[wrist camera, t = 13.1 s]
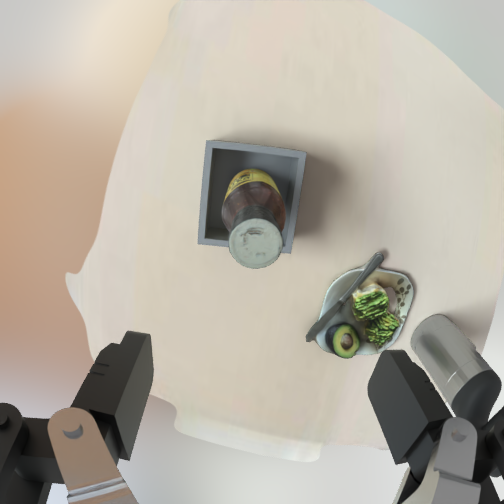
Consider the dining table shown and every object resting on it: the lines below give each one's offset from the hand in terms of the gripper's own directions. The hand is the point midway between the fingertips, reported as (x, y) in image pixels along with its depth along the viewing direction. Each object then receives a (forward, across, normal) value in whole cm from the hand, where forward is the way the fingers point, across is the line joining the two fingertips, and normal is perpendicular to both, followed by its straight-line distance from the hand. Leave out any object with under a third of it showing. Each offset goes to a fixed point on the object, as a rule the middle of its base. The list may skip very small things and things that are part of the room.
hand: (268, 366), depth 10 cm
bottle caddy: (+34, 0, 0) cm, 34 cm away
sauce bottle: (+33, 0, 0) cm, 33 cm away
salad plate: (+35, -21, +18) cm, 44 cm away
